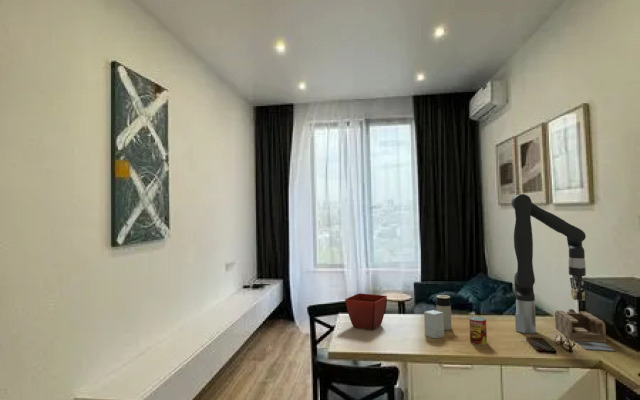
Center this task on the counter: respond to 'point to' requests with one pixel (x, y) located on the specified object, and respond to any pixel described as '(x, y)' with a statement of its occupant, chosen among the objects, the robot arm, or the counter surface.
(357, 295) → the plant pot
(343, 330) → the counter surface
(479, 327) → the canned food
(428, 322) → the supplement box
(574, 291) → the block
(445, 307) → the travel mug
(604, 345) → the station
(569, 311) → the vase
